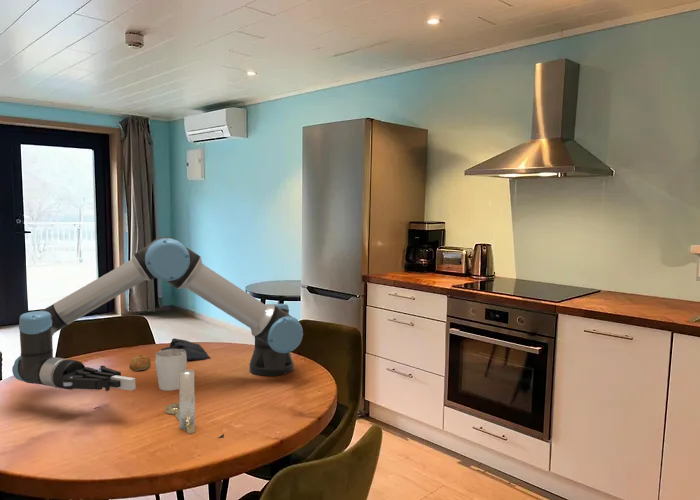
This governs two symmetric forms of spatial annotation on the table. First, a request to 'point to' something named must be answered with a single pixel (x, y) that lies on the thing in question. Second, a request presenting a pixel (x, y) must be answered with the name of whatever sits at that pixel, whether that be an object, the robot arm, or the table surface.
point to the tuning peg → (185, 401)
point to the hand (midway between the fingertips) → (133, 384)
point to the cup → (170, 368)
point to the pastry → (140, 362)
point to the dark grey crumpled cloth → (189, 349)
